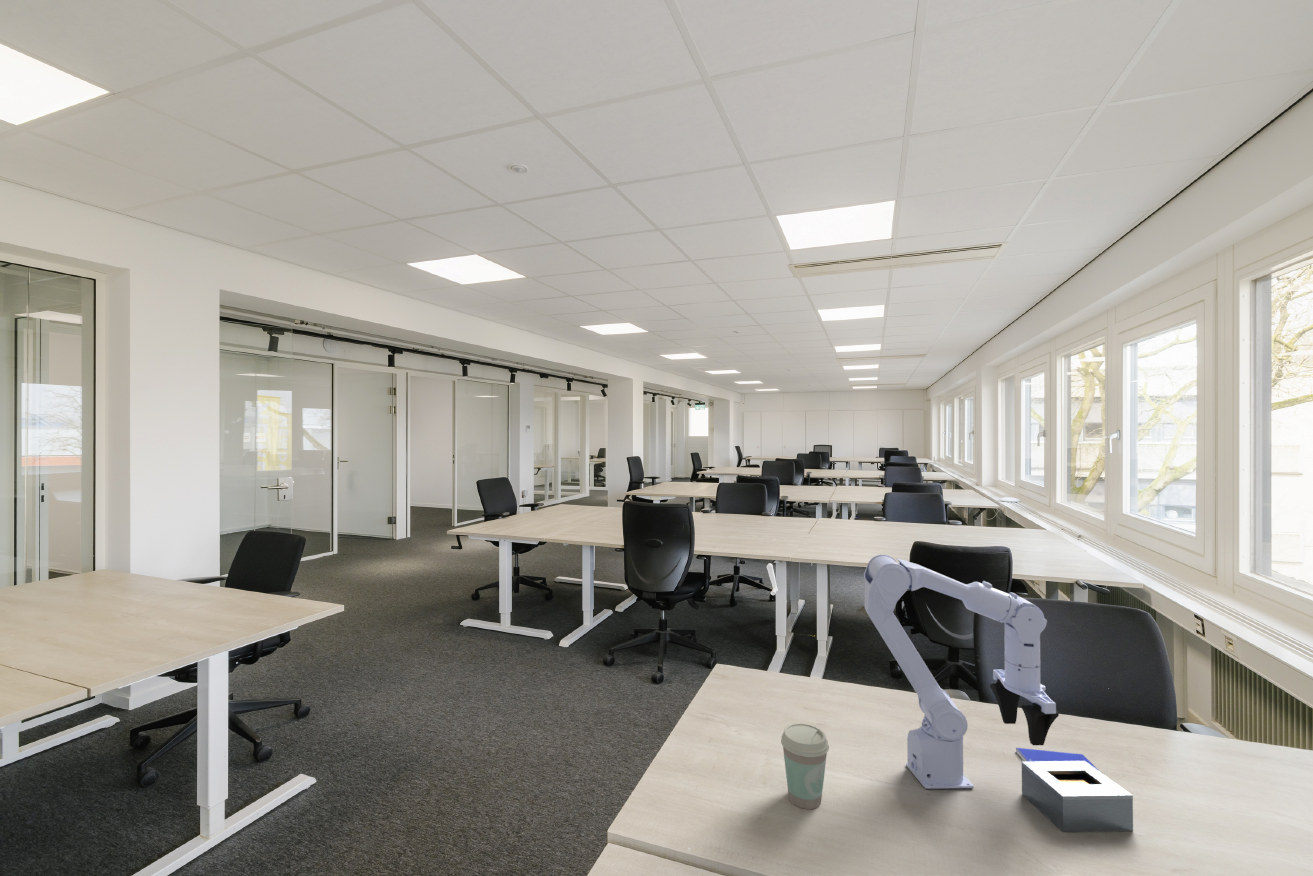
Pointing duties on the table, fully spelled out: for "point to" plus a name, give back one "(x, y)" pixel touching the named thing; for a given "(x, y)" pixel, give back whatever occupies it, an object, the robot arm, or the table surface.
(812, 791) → the coffee cup
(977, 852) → the table surface
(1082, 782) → the orange rectangular block
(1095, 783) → the grey block with slot
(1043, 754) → the hard drive
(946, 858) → the table surface
